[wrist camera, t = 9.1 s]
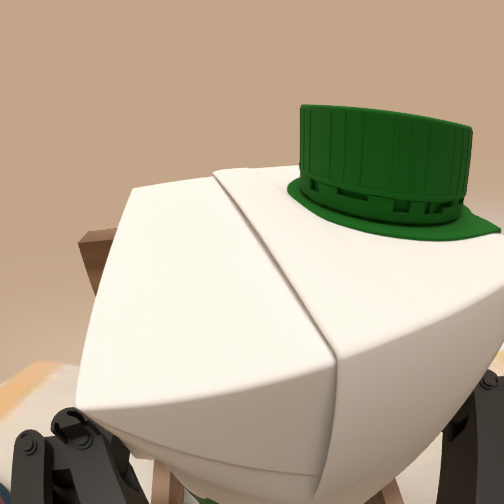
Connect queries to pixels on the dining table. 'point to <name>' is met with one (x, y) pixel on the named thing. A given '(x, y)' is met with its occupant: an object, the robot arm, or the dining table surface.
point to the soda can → (4, 495)
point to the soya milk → (299, 313)
